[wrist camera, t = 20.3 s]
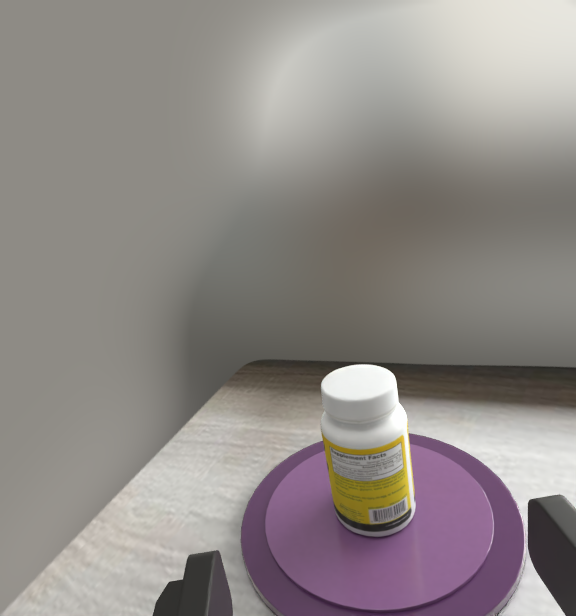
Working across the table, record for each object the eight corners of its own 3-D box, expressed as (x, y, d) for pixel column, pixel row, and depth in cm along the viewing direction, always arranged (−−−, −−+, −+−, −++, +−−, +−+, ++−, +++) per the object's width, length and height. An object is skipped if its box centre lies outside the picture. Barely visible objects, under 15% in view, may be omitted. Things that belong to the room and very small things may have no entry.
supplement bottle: (355, 473, 30) (338, 356, 27) (426, 491, 27) (416, 364, 25) (320, 524, 26) (297, 395, 24) (399, 552, 23) (383, 410, 21)
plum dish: (208, 653, 21) (204, 640, 21) (267, 444, 36) (265, 435, 36) (586, 660, 18) (587, 646, 18) (479, 430, 33) (479, 421, 33)
